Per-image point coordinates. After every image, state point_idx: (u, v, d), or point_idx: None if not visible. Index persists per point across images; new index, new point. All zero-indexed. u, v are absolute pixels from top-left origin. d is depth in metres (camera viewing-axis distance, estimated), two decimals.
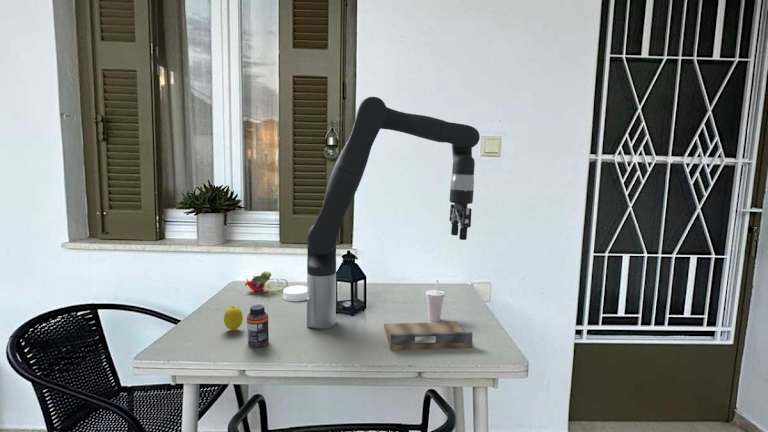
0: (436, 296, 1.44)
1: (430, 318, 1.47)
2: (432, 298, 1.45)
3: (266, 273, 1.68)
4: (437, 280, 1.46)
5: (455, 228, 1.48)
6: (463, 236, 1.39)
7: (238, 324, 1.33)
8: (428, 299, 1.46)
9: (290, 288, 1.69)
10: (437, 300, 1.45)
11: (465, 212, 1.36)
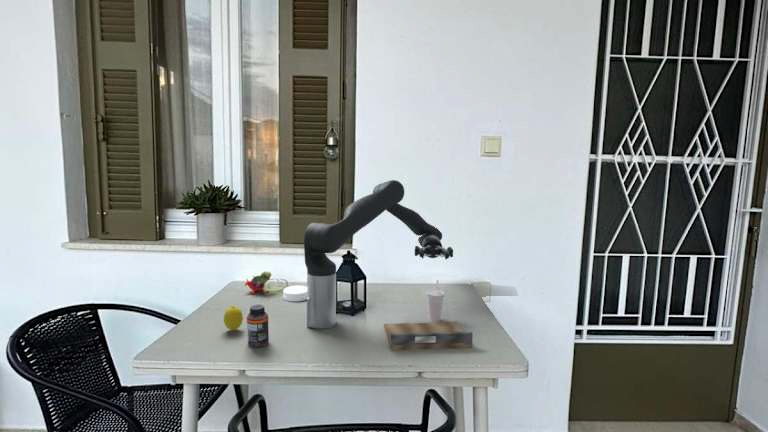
0: (436, 296, 1.44)
1: (430, 318, 1.47)
2: (432, 298, 1.45)
3: (266, 273, 1.68)
4: (437, 280, 1.46)
5: None
6: None
7: (238, 324, 1.33)
8: (428, 299, 1.46)
9: (290, 288, 1.69)
10: (437, 300, 1.45)
11: (451, 249, 1.65)
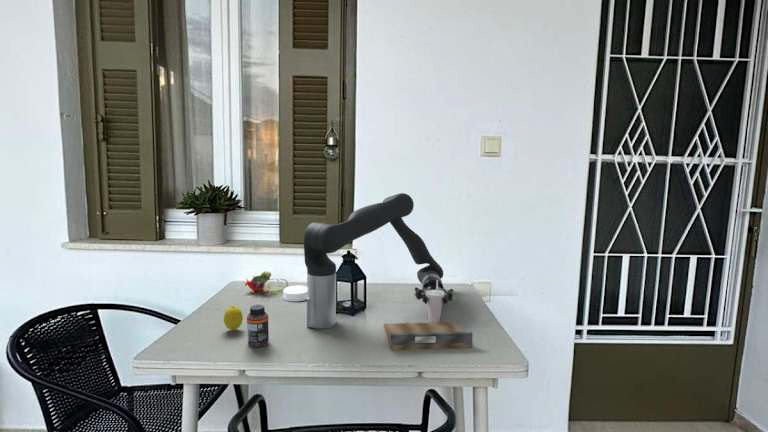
0: (436, 296, 1.44)
1: (430, 318, 1.47)
2: (432, 298, 1.45)
3: (266, 273, 1.68)
4: (437, 280, 1.46)
5: None
6: None
7: (238, 324, 1.33)
8: (428, 299, 1.46)
9: (290, 288, 1.69)
10: (437, 300, 1.45)
11: (452, 291, 1.53)
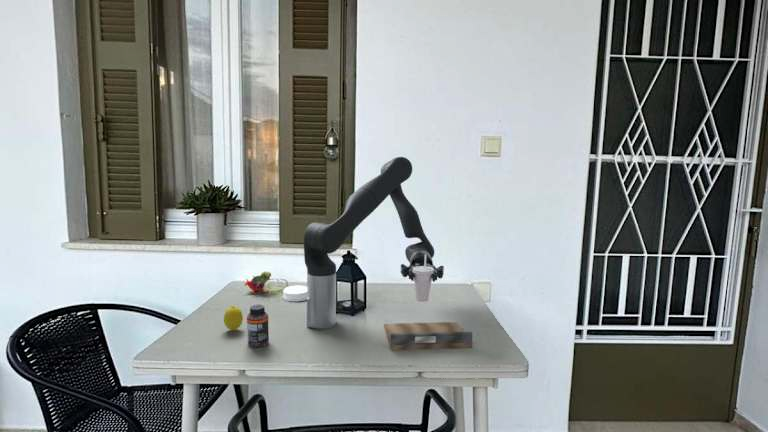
0: (424, 272, 1.27)
1: (418, 297, 1.30)
2: (419, 274, 1.28)
3: (266, 273, 1.68)
4: (425, 254, 1.29)
5: None
6: None
7: (238, 324, 1.33)
8: (415, 276, 1.29)
9: (290, 288, 1.69)
10: (425, 277, 1.28)
11: (443, 268, 1.37)
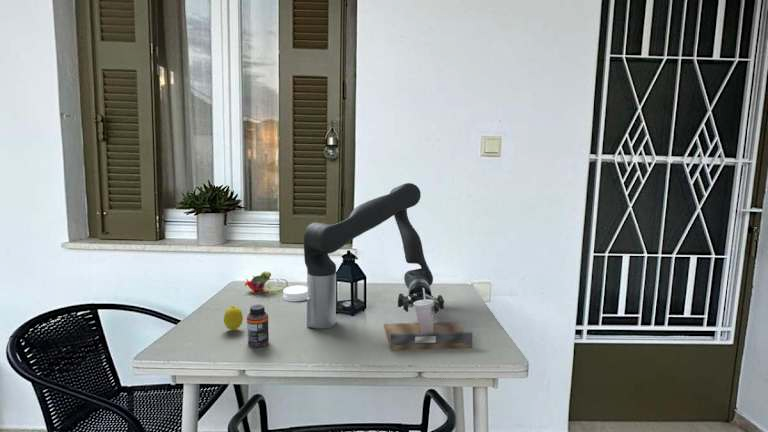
0: (424, 306, 1.29)
1: (422, 331, 1.31)
2: (420, 309, 1.30)
3: (266, 273, 1.68)
4: (423, 288, 1.31)
5: None
6: None
7: (238, 324, 1.33)
8: (416, 310, 1.31)
9: (290, 288, 1.69)
10: (426, 310, 1.30)
11: None
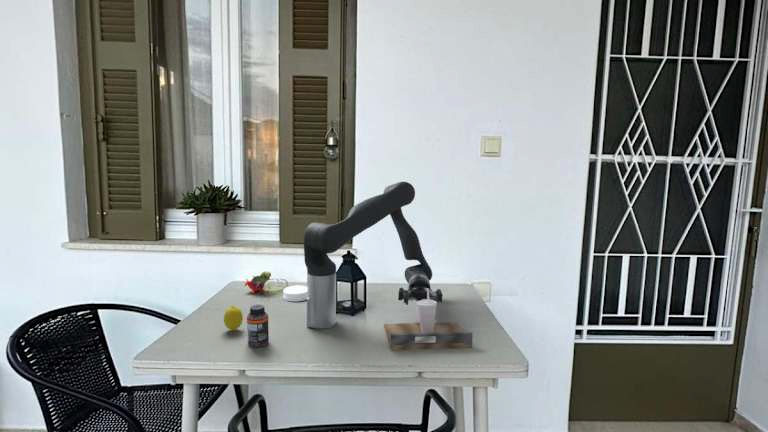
0: (427, 306, 1.29)
1: (423, 331, 1.31)
2: (423, 309, 1.29)
3: (266, 273, 1.68)
4: (427, 288, 1.31)
5: None
6: None
7: (238, 324, 1.33)
8: (419, 310, 1.31)
9: (290, 288, 1.69)
10: (429, 310, 1.30)
11: (440, 291, 1.45)
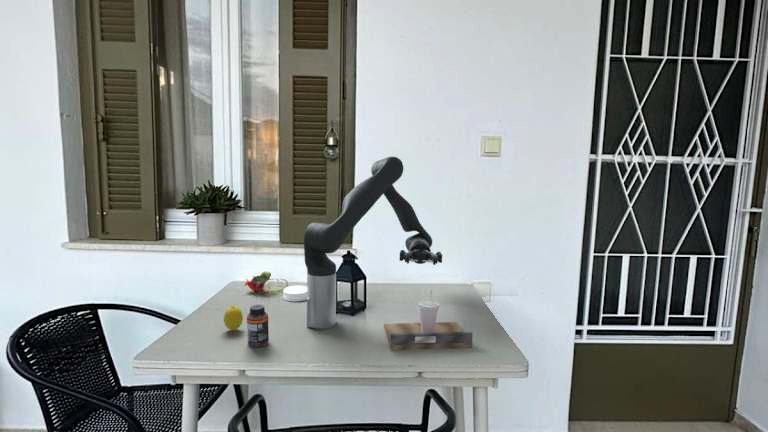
0: (430, 308, 1.28)
1: (423, 332, 1.31)
2: (425, 310, 1.29)
3: (266, 273, 1.68)
4: (431, 290, 1.30)
5: None
6: None
7: (238, 324, 1.33)
8: (421, 311, 1.30)
9: (290, 288, 1.69)
10: (431, 312, 1.29)
11: None
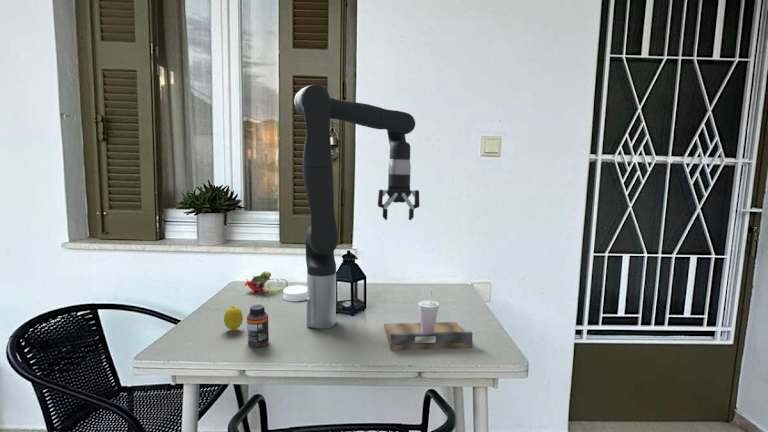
0: (430, 308, 1.28)
1: (423, 332, 1.31)
2: (425, 310, 1.29)
3: (266, 273, 1.68)
4: (431, 290, 1.30)
5: (386, 213, 1.50)
6: None
7: (238, 324, 1.33)
8: (421, 311, 1.30)
9: (290, 288, 1.69)
10: (431, 312, 1.29)
11: None
